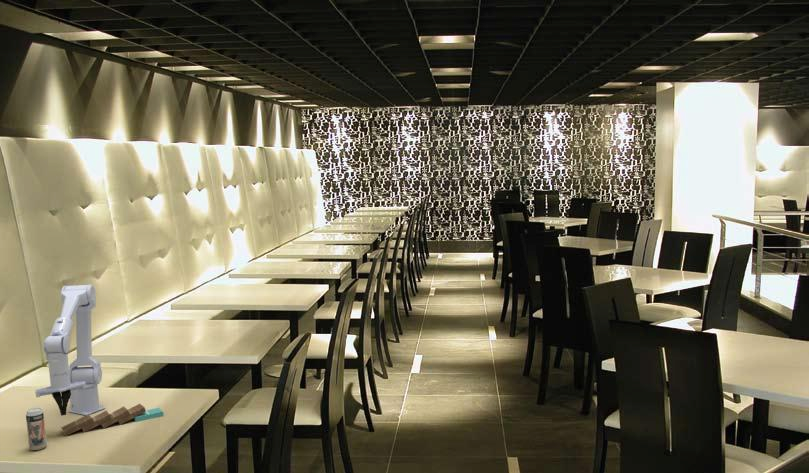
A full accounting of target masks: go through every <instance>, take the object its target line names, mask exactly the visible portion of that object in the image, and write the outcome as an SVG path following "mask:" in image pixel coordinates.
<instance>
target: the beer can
mask: <svg viewBox="0 0 809 473" xmlns="http://www.w3.org/2000/svg"><path fill="white" fill-rule="evenodd" d="M44 415H45V414H44V410H42V408H40V407H35V408H30V409H28V410H27V411H26V413H25V420H26V429H27V439H28V448H29V450H30V451H33V450H34V452H35V450H37V451H41V450H43V449H45V448H46V447H47V445H48V444H47V436H46V427H45V426H46V424H45V416H44Z"/></svg>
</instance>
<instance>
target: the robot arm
mask: <svg viewBox="0 0 809 473" xmlns="http://www.w3.org/2000/svg"><path fill="white" fill-rule="evenodd" d="M96 294H97V293H96V289H95V286H94V285H93V284H81V285H80V284H79V285H63V287H62V288H61V290H60V300H61V302H62V309H61V313H60V317H57V318H56V319H55V321H54V323H53V326H52V329H51V330H50V334H49V336H47V337H45V338H44V340H43V352H44V355H45V359H46V361H47V362H48V374H49V380H50V381H49V383H50V384H49V386H45V387H43V388H39V389H35V398H40V397H41V396H42V397H43V396H48V395H51V397H53V399H54V401H55V402H56V405H57V407H58V409H59V413H60V415H61V416H66V415H67V409H68V404H69V403H70V404H69V405H70V409H69V410H68V412H69V413H73V414H78V415H83V416H86V415H88V414H89V415H91V414H94V413H96V412H99V411H102V410H105V409H106V407H105V406H102V405H100V400H99V389H98V387H99V386H98V385H100V383H101V382H102V378H103V370H102V366H101V362H100V361H99V360H98V359H96V358H95V357H94V356H93V355H92V353H93V352H92V350H93V349H92V348H93V346H92V343H93V342H92V309H95V308H96V303H97V298H96V296H97V295H96ZM74 316H75V324H74V322H73V319H74ZM74 325H75V330H76V331H75V333H76V335H75V336H76V340H75V341H76V342H75V343H76V359H74V360H73V361H72V362H71V363H70V364H69V356H68V352H69V351H70V348H71V333H72V332H73V327H74Z"/></svg>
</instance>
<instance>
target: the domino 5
mask: <svg viewBox="0 0 809 473" xmlns="http://www.w3.org/2000/svg"><path fill="white" fill-rule="evenodd" d="M145 410H146V412H144V413H142V414H140V415H138V416H136V417H134V418H132V419H133V420H134V421H135V422H136V423H138V422H142V421H147V420H151V419H156V418H160V417H164V411H163V410H162V409H161V408H160V407H156V408H155V407H154V408H151V409H145Z"/></svg>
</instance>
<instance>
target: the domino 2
mask: <svg viewBox="0 0 809 473" xmlns="http://www.w3.org/2000/svg"><path fill="white" fill-rule="evenodd" d="M110 414H111V413H109V411H108V410H104V411H102V412H100V413H98V414H97V415H95V416H92V417H91V418H92V420H93V423H91V424H89V425H87V426H85V427H83V428H81V430H82V431H83V433H86V432H88V431H90V430H92V429H94V428H96V427H98V426H101V425H100V424H102V423H104V422H106V421H108V420H110V419H111V417H110Z"/></svg>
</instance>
